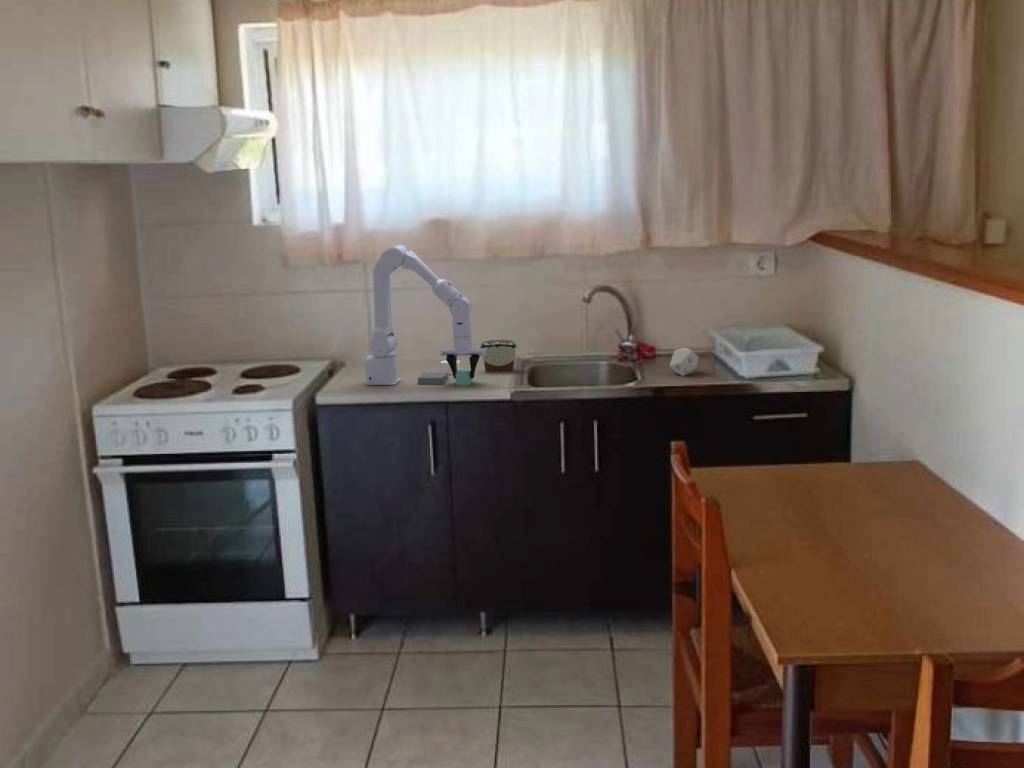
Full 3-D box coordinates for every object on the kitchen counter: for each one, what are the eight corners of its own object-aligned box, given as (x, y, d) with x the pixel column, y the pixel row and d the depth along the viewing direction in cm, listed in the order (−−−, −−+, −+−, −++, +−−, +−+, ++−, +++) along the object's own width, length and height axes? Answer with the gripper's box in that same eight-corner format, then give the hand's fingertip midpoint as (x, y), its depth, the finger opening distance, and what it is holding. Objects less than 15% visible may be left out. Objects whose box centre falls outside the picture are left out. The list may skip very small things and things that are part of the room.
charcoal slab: (418, 385, 322) (417, 377, 321) (424, 379, 329) (423, 372, 329) (442, 385, 320) (442, 378, 320) (448, 379, 328) (448, 372, 328)
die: (666, 378, 321) (681, 356, 315) (663, 359, 328) (678, 337, 322) (690, 385, 323) (705, 363, 317) (687, 366, 330) (701, 345, 324)
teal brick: (456, 385, 319) (455, 373, 318) (459, 381, 324) (459, 369, 324) (468, 385, 318) (468, 373, 317) (472, 381, 324) (471, 369, 323)
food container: (519, 368, 339) (518, 338, 337) (518, 372, 334) (517, 342, 331) (483, 368, 341) (482, 339, 338) (480, 372, 335) (479, 343, 332)
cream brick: (440, 374, 334) (439, 363, 334) (443, 372, 338) (442, 360, 337) (458, 374, 334) (457, 363, 333) (460, 372, 337) (460, 360, 336)
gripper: (436, 338, 315) (438, 380, 318) (482, 337, 313) (484, 380, 316) (441, 333, 322) (443, 375, 325) (486, 333, 319) (488, 375, 323)
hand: (464, 377), depth 321 cm, fingers open, 5 cm apart
